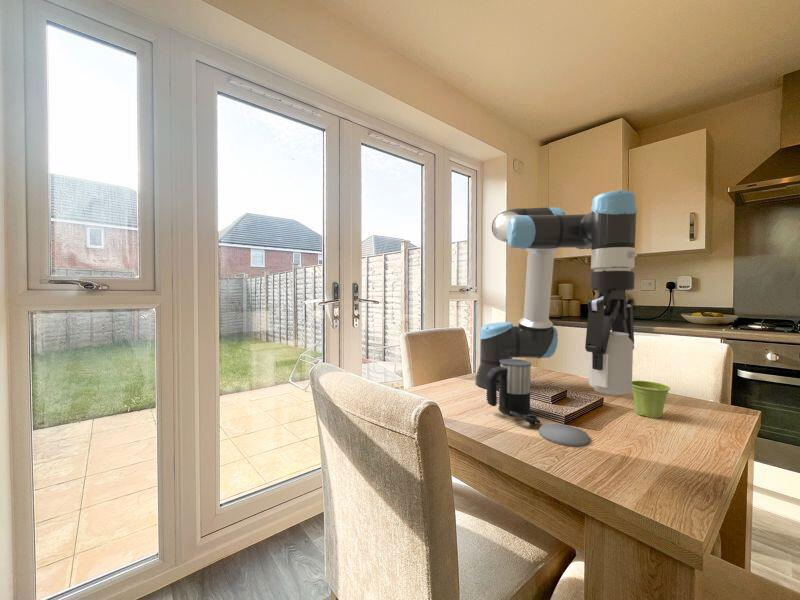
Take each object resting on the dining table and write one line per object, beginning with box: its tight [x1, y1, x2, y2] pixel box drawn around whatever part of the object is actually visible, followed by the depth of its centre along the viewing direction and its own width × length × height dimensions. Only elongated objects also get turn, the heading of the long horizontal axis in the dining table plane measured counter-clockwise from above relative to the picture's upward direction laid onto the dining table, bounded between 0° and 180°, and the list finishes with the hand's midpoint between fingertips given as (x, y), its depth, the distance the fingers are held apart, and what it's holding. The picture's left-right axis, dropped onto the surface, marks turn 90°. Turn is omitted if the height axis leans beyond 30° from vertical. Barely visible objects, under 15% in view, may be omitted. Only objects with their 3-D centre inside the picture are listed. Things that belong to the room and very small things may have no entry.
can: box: [588, 330, 634, 396], centre depth 69 cm, size 8×8×12 cm
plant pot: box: [631, 380, 671, 419], centre depth 97 cm, size 9×9×9 cm
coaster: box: [539, 423, 590, 447], centre depth 83 cm, size 11×11×1 cm
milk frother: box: [486, 358, 541, 426], centre depth 96 cm, size 14×16×15 cm
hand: (609, 382), depth 69 cm, fingers closed on can, 7 cm apart
